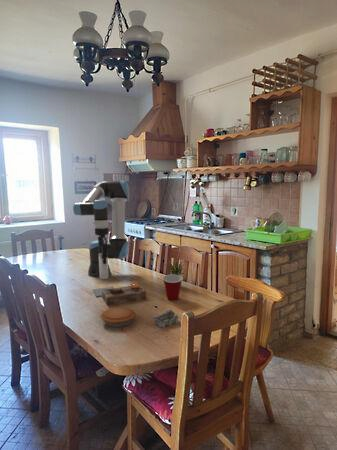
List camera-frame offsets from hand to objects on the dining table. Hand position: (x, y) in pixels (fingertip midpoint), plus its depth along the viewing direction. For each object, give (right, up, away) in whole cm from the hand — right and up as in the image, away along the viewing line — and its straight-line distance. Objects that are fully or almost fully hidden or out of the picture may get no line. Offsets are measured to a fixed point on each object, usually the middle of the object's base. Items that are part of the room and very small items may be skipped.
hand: (103, 267), depth 180 cm
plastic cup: (+39, -15, -11) cm, 44 cm away
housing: (+13, -15, -8) cm, 21 cm away
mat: (0, -14, +2) cm, 14 cm away
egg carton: (+36, -20, -38) cm, 56 cm away
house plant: (+43, -12, +9) cm, 46 cm away
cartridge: (0, -6, +1) cm, 6 cm away
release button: (+19, -14, -6) cm, 24 cm away
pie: (+14, -20, -36) cm, 43 cm away
